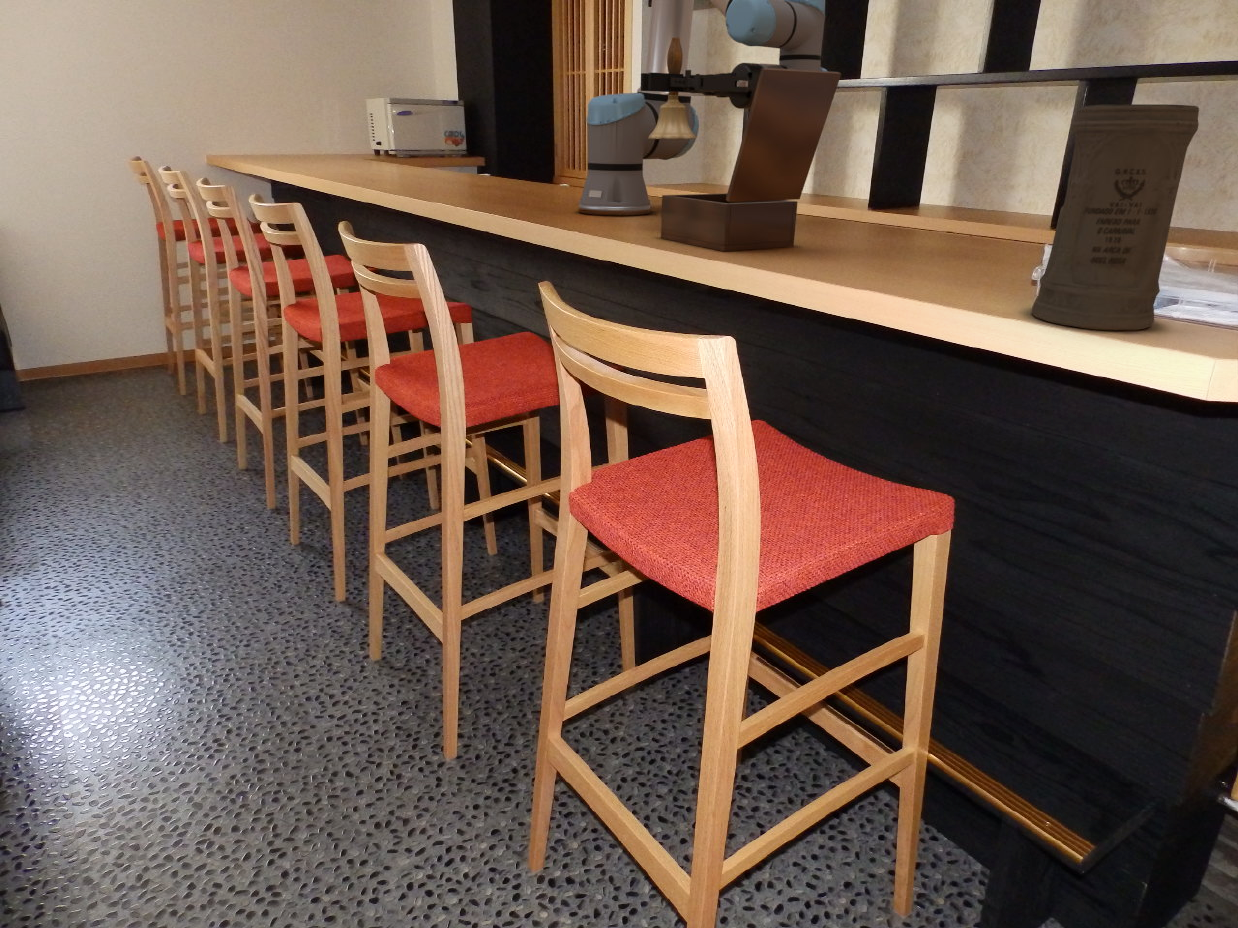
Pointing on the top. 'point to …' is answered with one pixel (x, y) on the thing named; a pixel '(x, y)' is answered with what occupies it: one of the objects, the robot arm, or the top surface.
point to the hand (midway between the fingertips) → (646, 82)
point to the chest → (728, 222)
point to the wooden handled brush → (673, 103)
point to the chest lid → (782, 134)
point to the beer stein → (1116, 216)
